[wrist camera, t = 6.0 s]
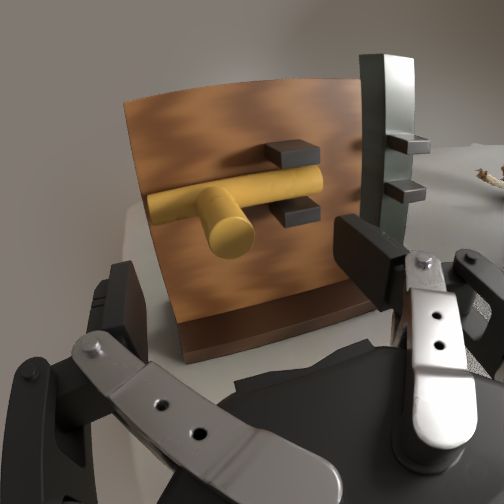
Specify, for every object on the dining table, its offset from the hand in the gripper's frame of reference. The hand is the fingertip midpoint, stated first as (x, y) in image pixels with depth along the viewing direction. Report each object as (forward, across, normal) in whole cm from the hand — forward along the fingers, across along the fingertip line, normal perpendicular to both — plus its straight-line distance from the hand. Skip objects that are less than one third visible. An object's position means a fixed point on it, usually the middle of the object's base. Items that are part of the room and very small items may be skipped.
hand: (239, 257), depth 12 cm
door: (+9, -6, +11) cm, 15 cm away
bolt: (+5, -2, +1) cm, 5 cm away
